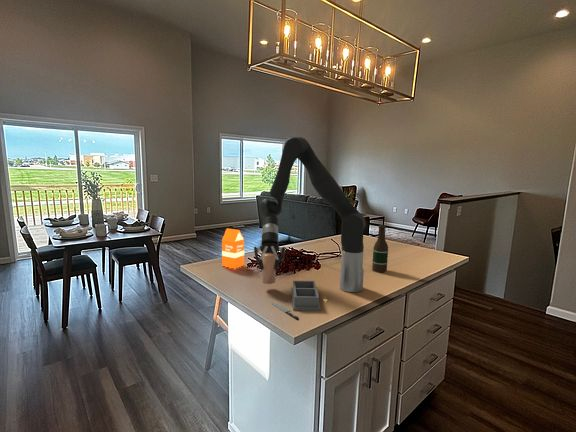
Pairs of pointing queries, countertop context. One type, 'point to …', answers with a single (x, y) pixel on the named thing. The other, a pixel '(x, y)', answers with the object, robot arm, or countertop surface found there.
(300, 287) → the box
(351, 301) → the countertop surface
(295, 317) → the chef's knife
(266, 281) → the tan cylinder
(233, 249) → the orange juice
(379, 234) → the beer bottle
